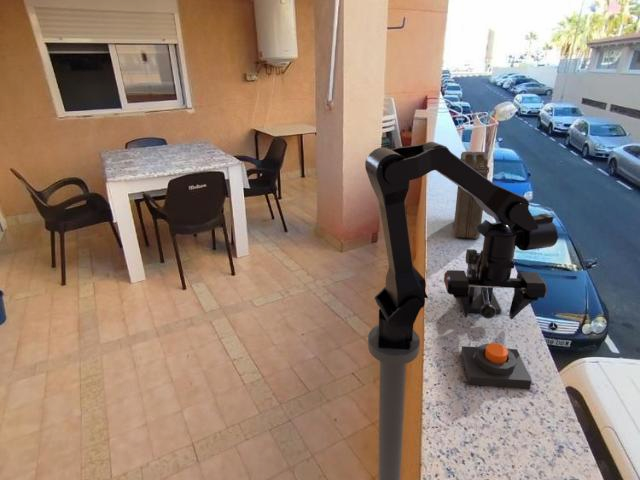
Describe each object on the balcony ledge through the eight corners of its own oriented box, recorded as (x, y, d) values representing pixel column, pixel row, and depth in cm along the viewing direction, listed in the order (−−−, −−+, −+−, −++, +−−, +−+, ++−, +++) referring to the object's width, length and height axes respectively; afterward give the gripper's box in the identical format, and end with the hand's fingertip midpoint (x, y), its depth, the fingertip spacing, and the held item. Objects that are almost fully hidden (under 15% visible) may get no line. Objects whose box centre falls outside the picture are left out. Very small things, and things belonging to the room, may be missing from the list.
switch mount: (500, 313, 84) (507, 276, 80) (463, 312, 85) (467, 275, 81) (489, 290, 93) (494, 255, 89) (455, 289, 94) (459, 254, 90)
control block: (469, 384, 66) (471, 369, 65) (461, 353, 73) (462, 339, 72) (529, 389, 65) (533, 373, 63) (515, 356, 72) (518, 342, 70)
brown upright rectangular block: (454, 218, 137) (460, 150, 127) (478, 220, 134) (487, 150, 124) (453, 239, 121) (460, 163, 111) (481, 241, 118) (491, 163, 108)
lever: (495, 321, 80) (498, 315, 78) (479, 320, 81) (482, 314, 78) (485, 270, 88) (488, 263, 85) (471, 270, 88) (474, 262, 86)
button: (487, 363, 66) (488, 355, 66) (482, 349, 70) (483, 342, 69) (509, 364, 66) (510, 357, 65) (503, 350, 69) (504, 343, 68)
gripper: (534, 236, 79) (521, 297, 86) (443, 235, 82) (438, 294, 89) (555, 260, 69) (540, 328, 76) (451, 258, 72) (444, 323, 79)
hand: (487, 317), depth 80 cm, fingers open, 9 cm apart
